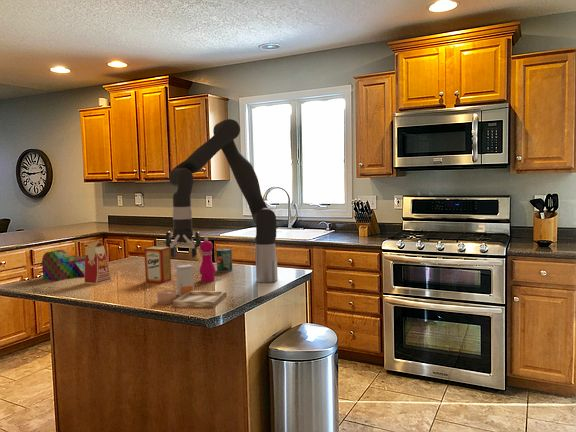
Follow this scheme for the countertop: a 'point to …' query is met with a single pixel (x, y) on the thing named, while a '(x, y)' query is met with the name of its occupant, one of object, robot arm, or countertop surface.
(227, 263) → the canned tomato
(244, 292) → the countertop surface
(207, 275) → the pepper mill
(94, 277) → the milk carton
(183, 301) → the maple tray
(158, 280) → the baking soda box
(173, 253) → the robot arm
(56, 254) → the rainbow checkered teapot
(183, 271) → the skincare box
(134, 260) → the countertop surface
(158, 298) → the tan rounded blob
